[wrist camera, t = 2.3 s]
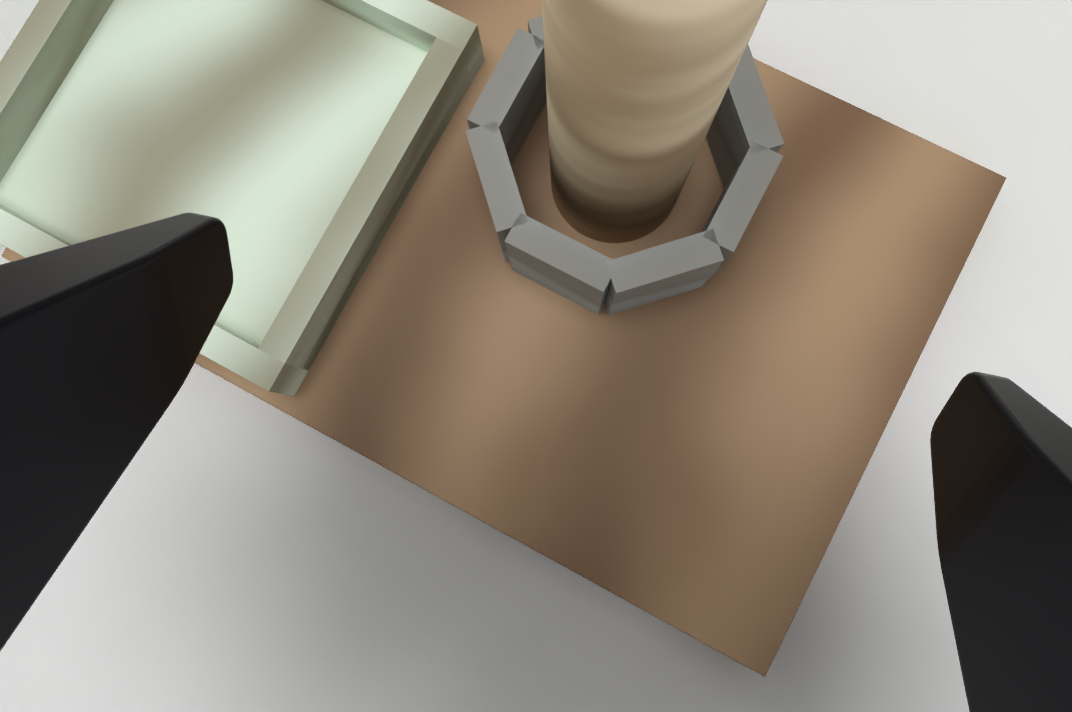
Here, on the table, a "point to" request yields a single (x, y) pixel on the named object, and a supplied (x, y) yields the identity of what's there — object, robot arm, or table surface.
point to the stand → (515, 275)
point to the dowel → (634, 103)
